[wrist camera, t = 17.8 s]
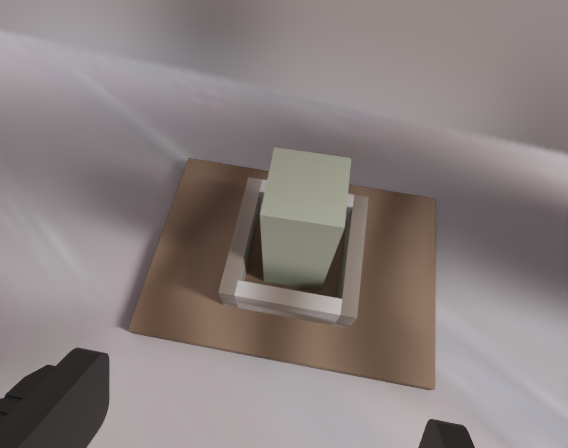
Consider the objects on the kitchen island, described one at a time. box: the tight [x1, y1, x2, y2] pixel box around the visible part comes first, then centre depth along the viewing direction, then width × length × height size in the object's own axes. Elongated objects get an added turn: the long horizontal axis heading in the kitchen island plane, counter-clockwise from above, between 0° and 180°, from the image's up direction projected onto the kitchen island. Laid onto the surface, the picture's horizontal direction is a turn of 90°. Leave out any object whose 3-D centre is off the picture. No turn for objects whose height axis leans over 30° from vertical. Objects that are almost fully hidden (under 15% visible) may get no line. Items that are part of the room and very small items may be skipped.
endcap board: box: [128, 158, 436, 390], centre depth 27 cm, size 20×14×4 cm
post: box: [260, 147, 351, 290], centre depth 24 cm, size 4×4×10 cm
